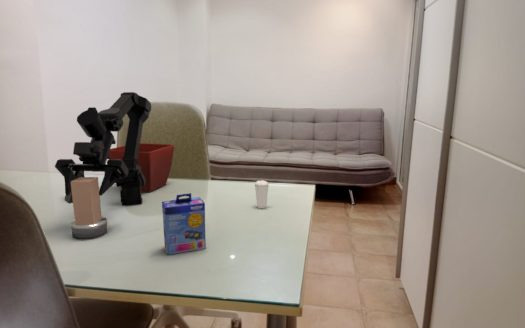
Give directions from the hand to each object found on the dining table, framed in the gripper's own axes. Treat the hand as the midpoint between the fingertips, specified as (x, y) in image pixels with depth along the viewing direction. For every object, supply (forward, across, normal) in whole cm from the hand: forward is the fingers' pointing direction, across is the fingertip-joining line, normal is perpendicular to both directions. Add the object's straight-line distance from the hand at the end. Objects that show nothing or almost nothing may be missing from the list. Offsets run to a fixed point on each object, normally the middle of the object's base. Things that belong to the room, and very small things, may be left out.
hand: (83, 194), depth 101 cm
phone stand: (-16, -21, +33) cm, 42 cm away
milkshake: (-11, +46, +27) cm, 55 cm away
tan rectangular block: (+5, 0, +7) cm, 8 cm away
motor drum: (+7, 0, +9) cm, 12 cm away
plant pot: (-28, -3, +44) cm, 53 cm away
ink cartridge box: (+13, +29, +3) cm, 32 cm away
